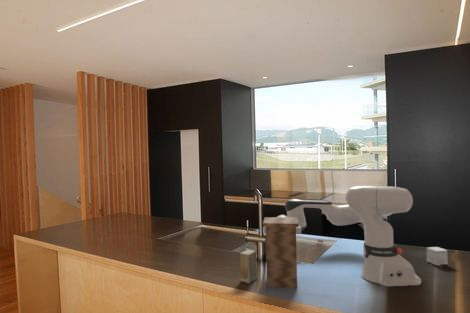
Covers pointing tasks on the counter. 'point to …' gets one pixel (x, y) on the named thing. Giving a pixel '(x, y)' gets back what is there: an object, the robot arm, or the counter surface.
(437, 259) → the skincare box
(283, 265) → the pedestal
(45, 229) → the counter surface
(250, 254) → the skincare box
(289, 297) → the counter surface
